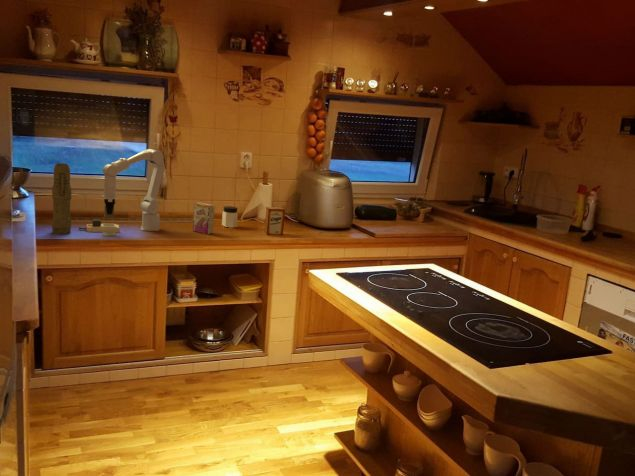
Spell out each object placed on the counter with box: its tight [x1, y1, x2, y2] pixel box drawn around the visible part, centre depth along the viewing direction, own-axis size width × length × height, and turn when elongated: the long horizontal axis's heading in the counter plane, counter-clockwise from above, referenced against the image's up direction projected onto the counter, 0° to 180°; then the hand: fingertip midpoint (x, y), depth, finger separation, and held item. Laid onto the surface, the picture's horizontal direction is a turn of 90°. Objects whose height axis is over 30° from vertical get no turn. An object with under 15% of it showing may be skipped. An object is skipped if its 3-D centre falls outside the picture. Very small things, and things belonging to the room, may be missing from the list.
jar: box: [221, 205, 239, 228], centre depth 359 cm, size 9×8×12 cm
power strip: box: [78, 223, 120, 233], centre depth 318 cm, size 20×8×3 cm, turn 111°
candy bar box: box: [192, 201, 215, 235], centre depth 336 cm, size 11×5×16 cm, turn 59°
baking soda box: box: [264, 206, 286, 236], centre depth 349 cm, size 10×6×16 cm
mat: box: [101, 232, 118, 237], centre depth 311 cm, size 7×7×1 cm
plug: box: [91, 218, 102, 226], centre depth 317 cm, size 4×4×3 cm
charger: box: [103, 204, 115, 219], centre depth 315 cm, size 4×4×6 cm
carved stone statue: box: [51, 162, 72, 235], centre depth 303 cm, size 9×12×35 cm
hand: (109, 213), depth 315 cm, fingers closed on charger, 4 cm apart
